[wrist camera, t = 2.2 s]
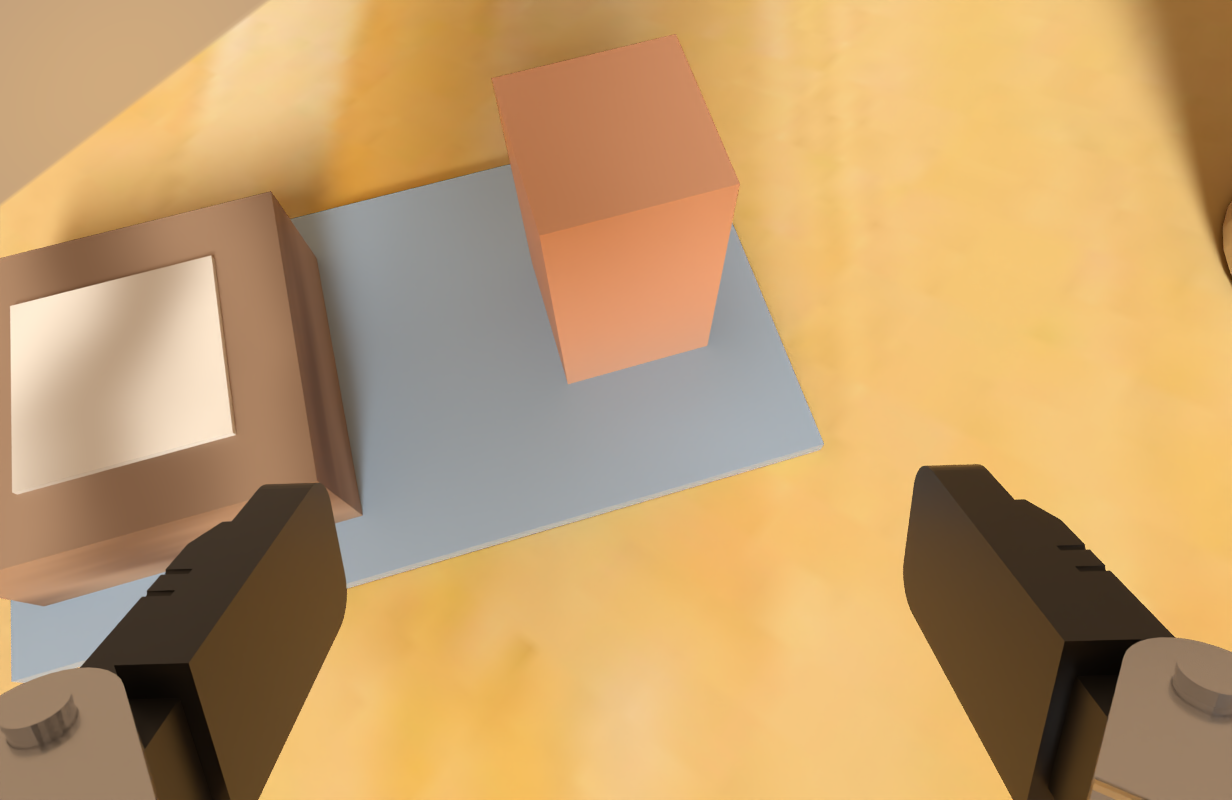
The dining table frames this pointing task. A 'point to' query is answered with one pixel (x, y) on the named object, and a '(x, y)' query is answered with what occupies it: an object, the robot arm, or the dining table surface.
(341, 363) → the board
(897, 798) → the dining table surface
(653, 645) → the dining table surface
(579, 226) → the terracotta block
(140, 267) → the walnut foundation
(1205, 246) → the dining table surface
